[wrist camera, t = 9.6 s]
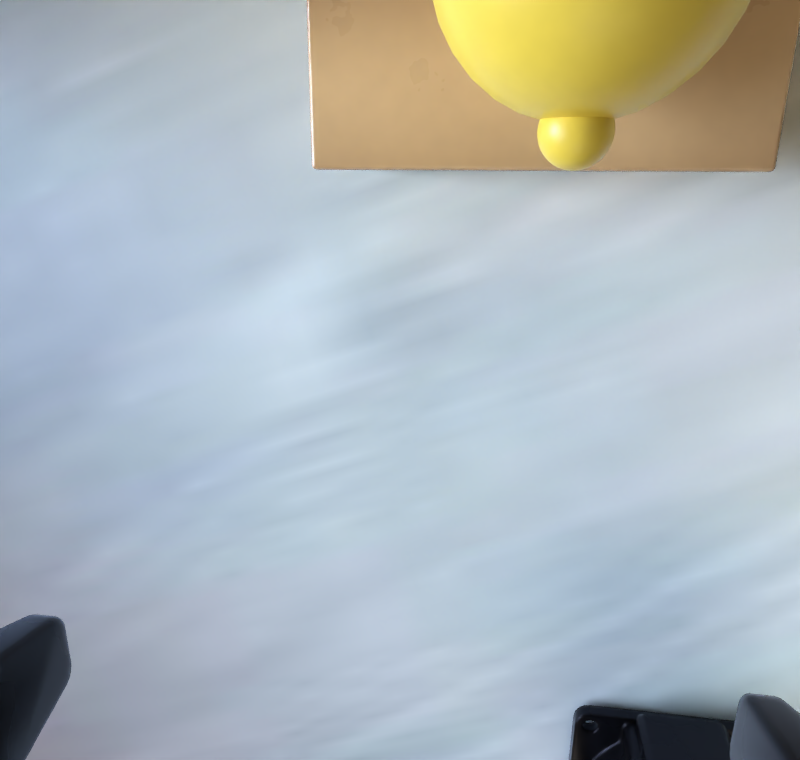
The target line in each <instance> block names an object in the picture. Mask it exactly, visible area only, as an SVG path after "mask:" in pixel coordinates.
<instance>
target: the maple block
mask: <svg viewBox="0 0 800 760" xmlns="http://www.w3.org/2000/svg"><path fill="white" fill-rule="evenodd" d="M799 25H800V0H750V2H749V5H748V7H747V9H746V11H745V13H744V14H743V16H742V17H741V19H740V20H739V22H738V23H737V25H736V27H735V28H734V30H733V31H732V33H731V34H730V36H729V37H728V39H727V40H726V42H725V43H724V45H723V46H722V47H721V48H720V49H719V50H718V51H717V52H716V53H715V54H714V55H713V57H712V58H711V59H710V60H709V61H708V62H707V63H706V64H705V65H704V66H703V68H702V69H701V70H700V71H699V72H698V73H696V74H695V75H694V76H693V77H691V78H690V79H689V80H687V81H686V82H685V83H684V84H682V85H681V86H680V87H679V88H677V89H676V90H675V91H673V92H672V93H671V94H670V95H668V96H667V97H665V98H663V99H661V100H659V101H657V102H655V103H653V104H651V105H650V106H648V107H646V108H644V109H642V110H640V111H638V112H636V113H632V114H629V115H626V116H623V117H619V118H616V119H615V135H614V139H613V142H612V145H611V147H610V149H609V150H608V152H607V153H606V155H605V156H604V157H603V158H602V159H601V160H600V161H599V162H597V163H596V164H594V165H593V166H591V167H589V168H586V169H583V170H578V171H662V172H771V171H773V170H774V169H775V166H776V161H777V155H778V149H779V143H780V137H781V131H782V125H783V119H784V113H785V107H786V102H787V96H788V90H789V84H790V78H791V72H792V66H793V60H794V54H795V48H796V42H797V37H798V31H799ZM307 29H308V59H309V89H310V119H311V149H312V166H313V168H314V169H317V170H489V171H567V170H563V169H560V168H557V167H556V166H554V165H552V164H551V163H550V162H549V161H548V160H547V159H546V158H545V157H544V155H543V154H542V152H541V150H540V147H539V144H538V138H537V130H538V124H539V121H540V120H538V119H535V118H532V117H529V116H525V115H522V114H519V113H517V112H515V111H514V110H512V109H510V108H508V107H507V106H505V105H503V104H501V103H500V102H498V101H496V100H494V99H493V98H492V97H491V96H490V95H489V94H488V93H487V92H485V91H484V90H483V89H482V88H481V87H480V86H479V85H478V84H477V83H475V82H474V81H473V80H472V79H471V78H470V76H469V75H468V74H467V72H466V71H465V70H464V68H463V67H462V65H461V64H460V63H459V61H458V60H457V59H456V57H455V56H454V55H453V53H452V51H451V49H450V47H449V45H448V43H447V40H446V38H445V36H444V34H443V32H442V30H441V28H440V25H439V23H438V19H437V15H436V11H435V7H434V3H433V0H307Z"/></svg>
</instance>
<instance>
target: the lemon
mask: <svg viewBox="0 0 800 760" xmlns="http://www.w3.org/2000/svg"><path fill="white" fill-rule="evenodd" d="M749 2H750V0H433V3H434V7H435V11H436V15H437V19H438V23H439V25H440V28H441V30H442V32H443V34H444V36H445V38H446V40H447V43H448V45H449V47H450V49H451V51H452V53H453V55H454V56H455V57H456V59H457V60H458V61H459V63H460V64H461V65H462V67H463V68H464V70H465V71H466V72H467V74H468V75H469V76H470V78H471V79H472V80H473V81H474V82H475V83H477V84H478V85H479V86H480V87H481V88H482V89H483V90H484V91H485V92H487V93H488V94H489V95H490V96H491V97H492V98H493V99H494V100H496V101H498V102H500V103H501V104H503V105H505V106H507V107H508V108H510V109H512V110H514V111H515V112H517V113H519V114H522V115H525V116H529V117H532V118H535V119H538V120H540V121H539V124H538V130H537V138H538V144H539V147H540V150H541V152H542V154H543V155H544V157H545V158H546V159H547V160H548V161H549V162H550V163H551V164H552V165H554V166H556V167H557V168H560V169H563V170H567V171H578V170H583V169H586V168H589V167H591V166H593V165H594V164H596V163H597V162H599V161H600V160H601V159H602V158H603V157H604V156H605V155H606V153H607V152H608V150H609V149H610V147H611V145H612V142H613V139H614V135H615V119H616V118H619V117H623V116H626V115H629V114H632V113H636V112H638V111H640V110H642V109H644V108H646V107H648V106H650V105H651V104H653V103H655V102H657V101H659V100H661V99H663V98H665V97H667V96H668V95H670V94H671V93H672V92H673V91H675V90H676V89H677V88H679V87H680V86H681V85H682V84H684V83H685V82H686V81H687V80H689V79H690V78H691V77H693V76H694V75H695V74H696V73H698V72H699V71H700V70H701V69H702V68H703V66H704V65H705V64H706V63H707V62H708V61H709V60H710V59H711V58H712V57H713V55H714V54H715V53H716V52H717V51H718V50H719V49H720V48H721V47H722V46H723V45H724V43H725V42H726V40H727V39H728V37H729V36H730V34H731V33H732V31H733V30H734V28H735V27H736V25H737V23H738V22H739V20H740V19H741V17H742V16H743V14H744V13H745V11H746V9H747V7H748V5H749Z"/></svg>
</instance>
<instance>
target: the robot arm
mask: <svg viewBox="0 0 800 760" xmlns="http://www.w3.org/2000/svg"><path fill="white" fill-rule="evenodd" d="M70 673H71V660H70V654H69V648H68V642H67V636H66V630H65V625H64V623H63V621H62V620H61V619H60V618H58V617H55V616H46V615H29V616H27V617H24V618H22V619H20V620H18V621H16V622H14V623H11V624H9V625H7V626H5V627H3V628H0V760H25V759H26V757H27V756H28V754H29V752H30V750H31V748H32V747H33V745H34V743H35V741H36V739H37V738H38V736H39V734H40V732H41V730H42V728H43V727H44V725H45V723H46V721H47V719H48V718H49V716H50V714H51V712H52V710H53V709H54V707H55V705H56V703H57V701H58V699H59V698H60V696H61V694H62V692H63V690H64V689H65V687H66V685H67V683H68V680H69V677H70ZM588 720H592V721H594V722H592V723H586V722H585V721H588ZM569 760H800V714H799V713H798V712H797V711H796V710H794V709H793V708H792V707H791V706H790V705H789V704H787V703H786V702H785V701H784V700H782V699H781V698H779V697H775V696H768V695H759V694H750V693H748V694H745V695H743V696H742V697H741V699H740V701H739V704H738V709H737V714H736V719H735V721H728V720H719V719H710V718H701V717H692V716H683V715H673V714H664V713H655V712H646V711H637V710H628V709H619V708H610V707H601V706H592V705H586V706H582V707H579V708H578V709H577V710H576V711H575V713H574V717H573V726H572V735H571V745H570V754H569Z"/></svg>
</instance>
